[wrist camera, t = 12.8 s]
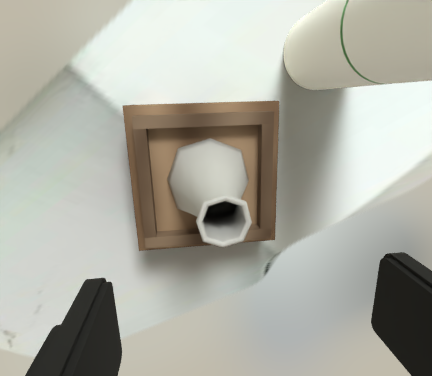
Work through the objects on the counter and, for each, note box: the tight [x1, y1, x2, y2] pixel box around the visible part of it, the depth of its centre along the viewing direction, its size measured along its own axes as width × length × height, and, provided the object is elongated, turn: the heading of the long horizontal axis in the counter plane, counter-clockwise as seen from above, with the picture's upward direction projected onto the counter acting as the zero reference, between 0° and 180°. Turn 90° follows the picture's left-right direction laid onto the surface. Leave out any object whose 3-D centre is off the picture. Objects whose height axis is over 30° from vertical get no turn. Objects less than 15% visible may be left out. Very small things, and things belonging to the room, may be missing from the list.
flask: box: [167, 138, 252, 248], centre depth 21 cm, size 7×7×10 cm
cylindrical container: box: [283, 0, 432, 90], centre depth 17 cm, size 7×7×25 cm
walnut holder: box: [123, 101, 279, 251], centre depth 28 cm, size 13×13×6 cm
